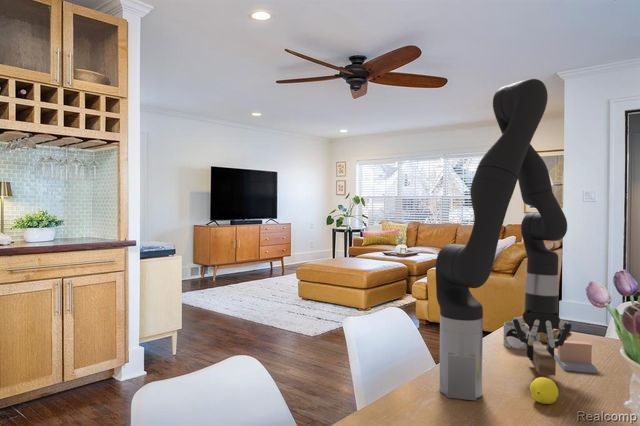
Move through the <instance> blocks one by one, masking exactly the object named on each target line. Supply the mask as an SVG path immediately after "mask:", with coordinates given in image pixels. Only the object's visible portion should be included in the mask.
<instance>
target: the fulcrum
mask: <svg viewBox="0 0 640 426" xmlns="http://www.w3.org/2000/svg"><path fill="white" fill-rule="evenodd" d="M592 349H593V347H592V343H590V342H589V341H581V340H580V341H577V340H567V341H566V340H565V341H564V343H563V345H562V346H557V352H554V359H555V360H556V363H558V365H559V366H560V367H561V369H562V370H563V371H566V372H577V373H589V374H598V368H597V366H595V365H594V364H593V363H592V358H593V357H592V356H593V355H592Z"/></svg>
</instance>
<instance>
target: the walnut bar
mask: <svg viewBox="0 0 640 426" xmlns="http://www.w3.org/2000/svg"><path fill="white" fill-rule="evenodd" d="M533 346H534V347H533V360H529V361H530V363H531V364H532V365H533V367H534V369H535V370H536V372H537V373H538V375H546V376H554V377H556V372H557V371H556V367H557V360H556V359H555V358H553V357H552V355H551V354H550V353H549V352H548V351H547V350H546V347H545V345H543V342H533Z"/></svg>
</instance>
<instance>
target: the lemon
mask: <svg viewBox="0 0 640 426" xmlns="http://www.w3.org/2000/svg"><path fill="white" fill-rule="evenodd" d="M529 390H530V394H531V397H532V398H534V400H535V401H536V402H538V403H539V404H542V405H544V404H545V405H547V404H549V405H550V404H553V403H554V402H556V401H557V400H558V399H557V398H558V396H559V389H558V386H557V385H556V383H555V381H553V380H552V379H551V378H549V377H545V376H540V377H536V378H535V379H533V381H532V382H531V383H530V386H529Z"/></svg>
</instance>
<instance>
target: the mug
mask: <svg viewBox="0 0 640 426" xmlns="http://www.w3.org/2000/svg"><path fill="white" fill-rule="evenodd" d="M520 327H521V330H522V332H523V335H524V337H526V338H527V334H528V329H529V327H528V325H527V324H526V323H524V322H522V326H520ZM539 339H540V335H539V333H536V340H535V341H534V342H539ZM503 347H504V348H507V349H510V350H516V351H517V350H519V351H520V350H521V351H522V350H523V351H524V350H525V351H526V343H524V342H521V341H520V340H519V338H518V335H517V332H516V330H515V327H514V325H513V322H512V321H504V322H503Z"/></svg>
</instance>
